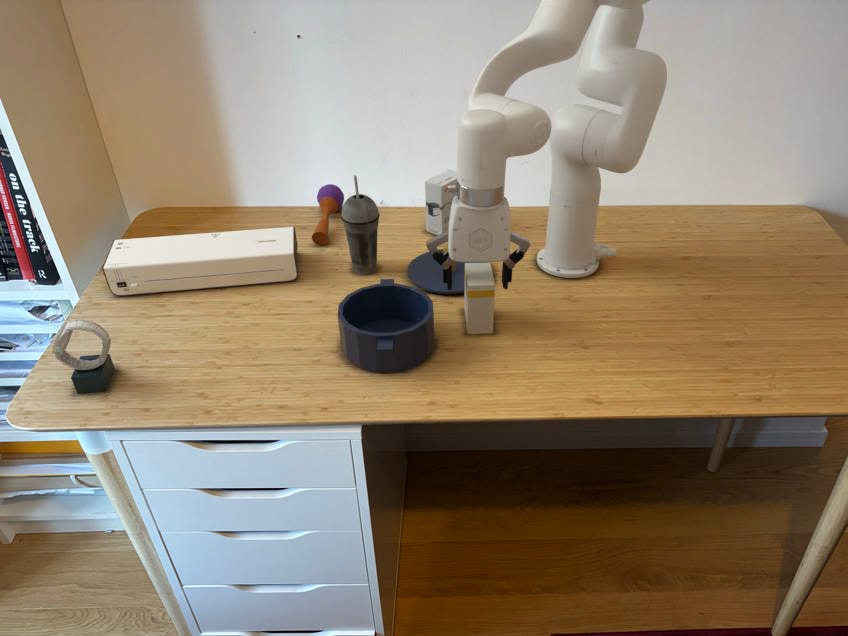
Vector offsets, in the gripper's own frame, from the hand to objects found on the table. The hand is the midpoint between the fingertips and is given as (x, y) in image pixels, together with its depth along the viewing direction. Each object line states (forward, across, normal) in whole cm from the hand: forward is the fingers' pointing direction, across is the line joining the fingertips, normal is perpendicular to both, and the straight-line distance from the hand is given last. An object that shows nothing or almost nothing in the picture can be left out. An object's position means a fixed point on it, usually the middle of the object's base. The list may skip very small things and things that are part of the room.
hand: (476, 285), depth 123 cm
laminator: (+9, -50, +20) cm, 55 cm away
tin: (+8, -15, -5) cm, 18 cm away
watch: (+9, -61, -12) cm, 63 cm away
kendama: (+8, -29, +41) cm, 51 cm away
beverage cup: (+8, -20, +21) cm, 30 cm away
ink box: (+7, -3, +38) cm, 38 cm away
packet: (+8, +1, +1) cm, 8 cm away
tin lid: (+7, -4, +18) cm, 19 cm away
